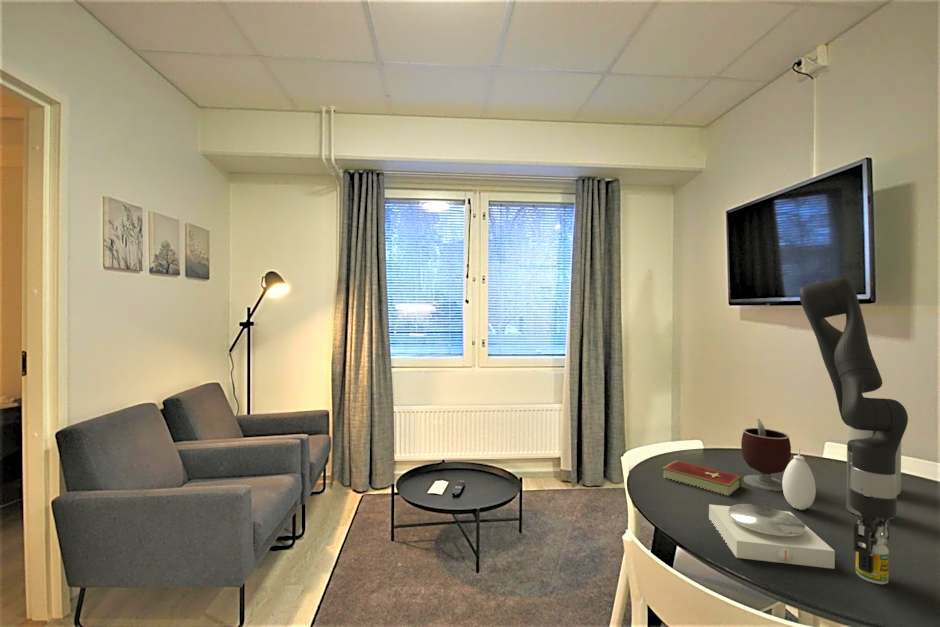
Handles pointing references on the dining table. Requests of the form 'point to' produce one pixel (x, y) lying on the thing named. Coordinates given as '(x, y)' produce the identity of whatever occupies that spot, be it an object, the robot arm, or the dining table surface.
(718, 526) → the scale base
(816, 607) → the dining table surface
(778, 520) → the scale pan
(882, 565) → the supplement bottle
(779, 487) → the mate gourd
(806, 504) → the white rubber air blower
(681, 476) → the hardcover book
